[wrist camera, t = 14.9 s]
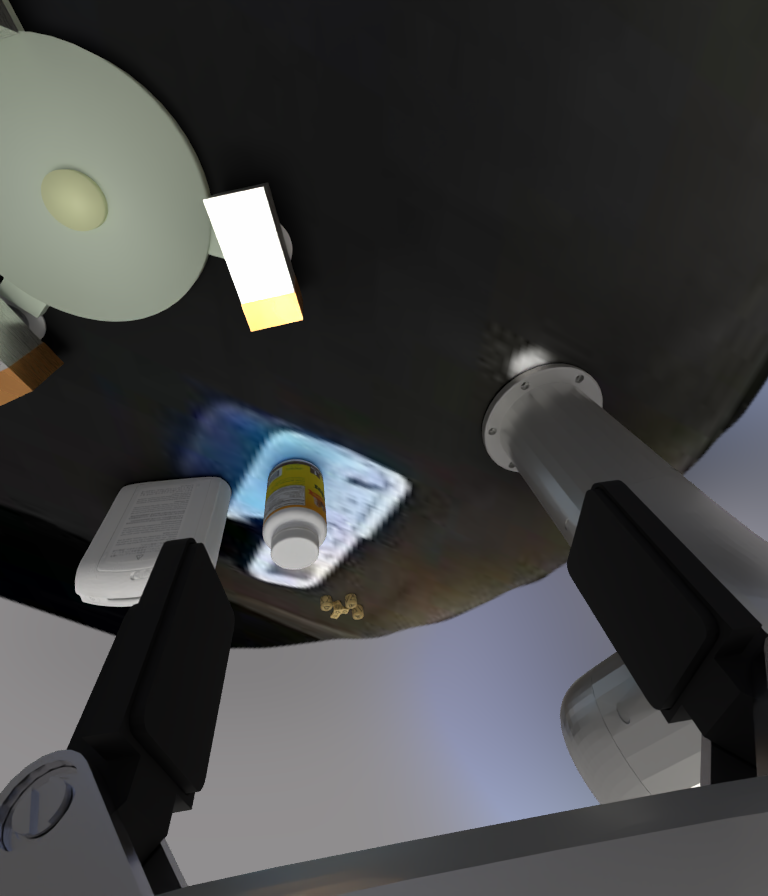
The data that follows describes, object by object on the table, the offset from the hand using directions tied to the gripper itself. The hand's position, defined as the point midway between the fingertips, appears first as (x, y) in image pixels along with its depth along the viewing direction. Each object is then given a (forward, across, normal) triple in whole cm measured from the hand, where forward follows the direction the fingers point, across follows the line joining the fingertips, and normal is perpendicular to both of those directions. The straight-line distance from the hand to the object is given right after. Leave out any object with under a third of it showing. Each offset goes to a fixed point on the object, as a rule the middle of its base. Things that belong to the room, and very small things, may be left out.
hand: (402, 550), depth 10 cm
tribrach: (+27, +18, -7) cm, 33 cm away
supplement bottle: (+28, +7, +18) cm, 34 cm away
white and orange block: (+27, +6, -4) cm, 28 cm away
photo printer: (+28, +19, +18) cm, 38 cm away
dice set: (+29, +5, +40) cm, 50 cm away
